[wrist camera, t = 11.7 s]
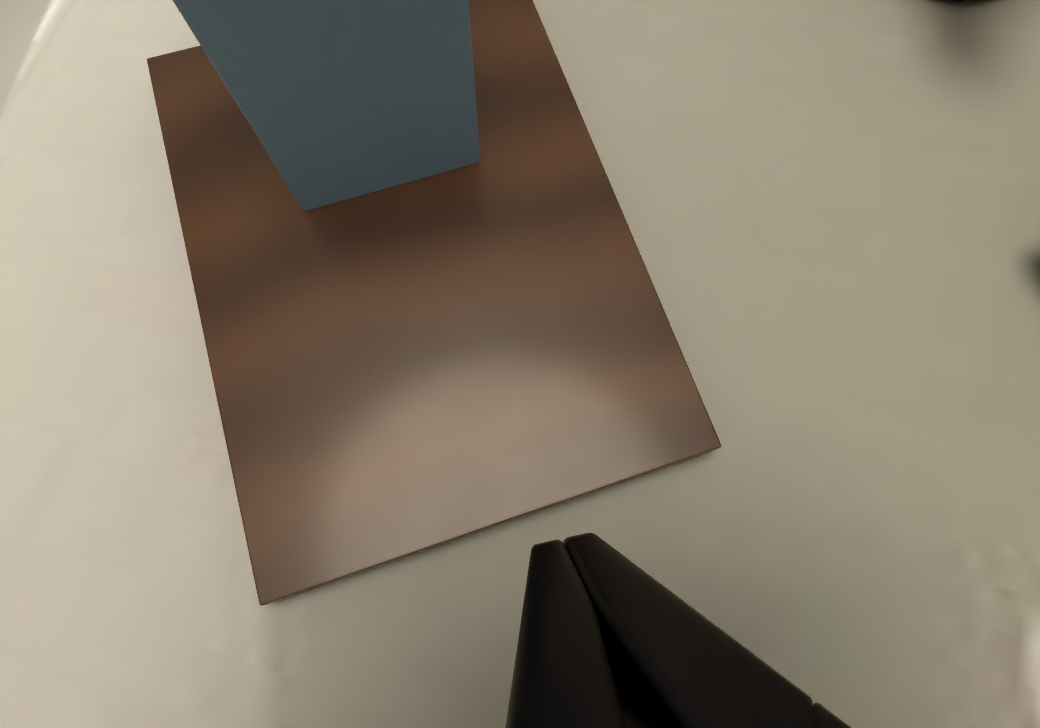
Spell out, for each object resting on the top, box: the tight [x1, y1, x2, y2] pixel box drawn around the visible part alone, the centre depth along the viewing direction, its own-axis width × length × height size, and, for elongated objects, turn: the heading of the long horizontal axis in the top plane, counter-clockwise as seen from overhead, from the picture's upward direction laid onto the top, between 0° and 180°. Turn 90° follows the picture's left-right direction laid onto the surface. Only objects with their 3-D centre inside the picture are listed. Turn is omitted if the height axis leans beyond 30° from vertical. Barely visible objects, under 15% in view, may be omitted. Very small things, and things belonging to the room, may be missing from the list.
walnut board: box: [147, 0, 721, 605], centre depth 24 cm, size 22×16×1 cm
